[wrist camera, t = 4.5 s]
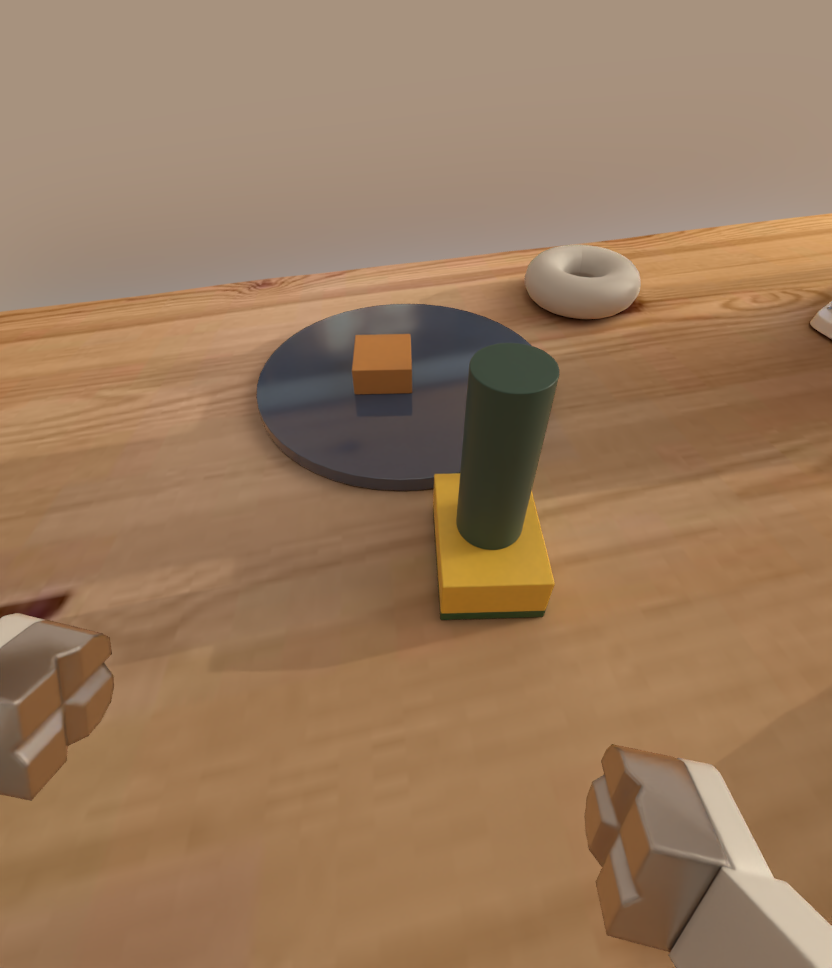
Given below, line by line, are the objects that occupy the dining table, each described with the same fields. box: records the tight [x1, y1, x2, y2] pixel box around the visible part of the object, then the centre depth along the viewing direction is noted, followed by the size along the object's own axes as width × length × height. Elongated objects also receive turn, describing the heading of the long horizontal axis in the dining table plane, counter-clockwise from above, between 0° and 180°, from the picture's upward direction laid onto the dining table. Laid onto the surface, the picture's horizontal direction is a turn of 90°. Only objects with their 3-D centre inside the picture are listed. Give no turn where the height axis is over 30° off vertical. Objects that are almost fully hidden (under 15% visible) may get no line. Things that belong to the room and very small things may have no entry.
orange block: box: [352, 334, 412, 394], centre depth 36 cm, size 4×4×2 cm
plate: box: [256, 304, 531, 491], centre depth 37 cm, size 21×21×1 cm
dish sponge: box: [433, 343, 559, 620], centre depth 23 cm, size 7×5×12 cm
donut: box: [525, 245, 640, 319], centre depth 45 cm, size 10×4×10 cm
